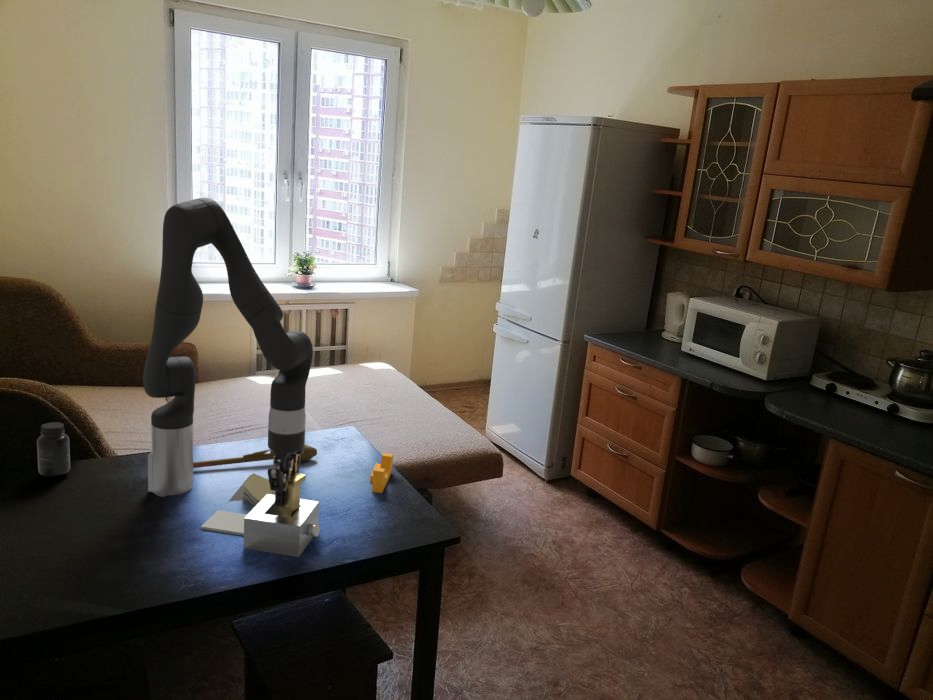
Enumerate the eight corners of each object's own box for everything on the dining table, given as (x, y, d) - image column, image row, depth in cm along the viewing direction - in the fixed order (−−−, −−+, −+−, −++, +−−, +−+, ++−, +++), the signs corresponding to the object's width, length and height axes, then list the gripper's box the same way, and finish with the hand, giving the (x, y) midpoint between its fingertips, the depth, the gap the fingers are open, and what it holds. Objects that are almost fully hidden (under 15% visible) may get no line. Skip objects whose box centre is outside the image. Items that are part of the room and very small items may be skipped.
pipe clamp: (375, 474, 191) (377, 452, 190) (391, 476, 191) (393, 454, 190) (364, 493, 180) (366, 469, 178) (381, 495, 180) (383, 471, 178)
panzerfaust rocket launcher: (179, 471, 185) (178, 454, 184) (314, 456, 198) (314, 440, 197) (180, 479, 181) (179, 461, 179) (318, 463, 194) (318, 447, 193)
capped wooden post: (290, 528, 151) (294, 482, 148) (273, 522, 152) (276, 477, 150) (302, 519, 155) (305, 474, 152) (284, 514, 156) (288, 469, 154)
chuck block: (243, 548, 149) (244, 518, 147) (266, 522, 161) (267, 493, 159) (308, 558, 148) (309, 527, 146) (326, 531, 159) (327, 502, 157)
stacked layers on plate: (227, 502, 168) (230, 490, 165) (250, 474, 175) (252, 463, 171) (263, 523, 168) (266, 512, 164) (285, 495, 174) (288, 484, 170)
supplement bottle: (76, 471, 176) (74, 425, 174) (48, 479, 171) (45, 432, 168) (60, 463, 180) (58, 418, 177) (32, 471, 174) (30, 425, 171)
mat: (200, 528, 155) (200, 526, 155) (217, 512, 163) (218, 510, 163) (244, 535, 154) (244, 533, 154) (259, 518, 162) (259, 516, 162)
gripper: (291, 440, 141) (288, 519, 146) (315, 417, 155) (312, 490, 159) (255, 435, 142) (253, 513, 146) (282, 413, 156) (280, 485, 160)
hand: (284, 500), depth 153 cm, fingers closed on capped wooden post, 3 cm apart
